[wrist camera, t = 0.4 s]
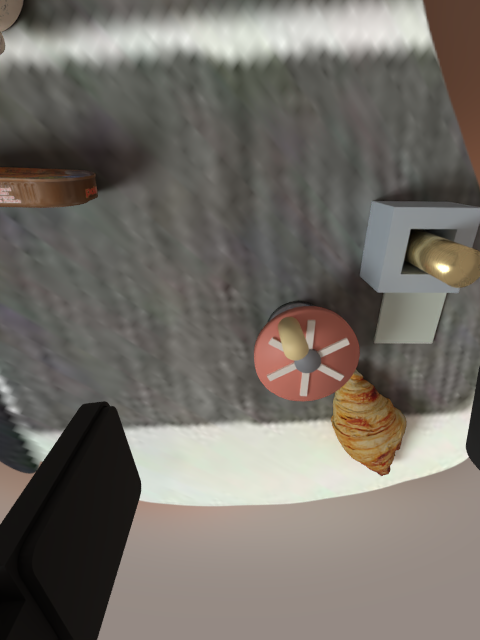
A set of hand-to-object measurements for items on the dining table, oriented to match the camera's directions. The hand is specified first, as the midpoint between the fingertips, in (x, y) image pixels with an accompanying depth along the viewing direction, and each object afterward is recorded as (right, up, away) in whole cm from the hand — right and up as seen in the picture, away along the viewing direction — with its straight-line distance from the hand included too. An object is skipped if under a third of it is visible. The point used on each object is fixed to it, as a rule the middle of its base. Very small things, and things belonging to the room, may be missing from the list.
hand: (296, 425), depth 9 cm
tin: (-24, +18, +29) cm, 41 cm away
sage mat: (+21, +3, +36) cm, 42 cm away
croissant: (+18, -12, +44) cm, 49 cm away
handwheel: (+6, -1, +31) cm, 32 cm away
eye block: (+18, +12, +32) cm, 39 cm away
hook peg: (+18, +12, +32) cm, 39 cm away
